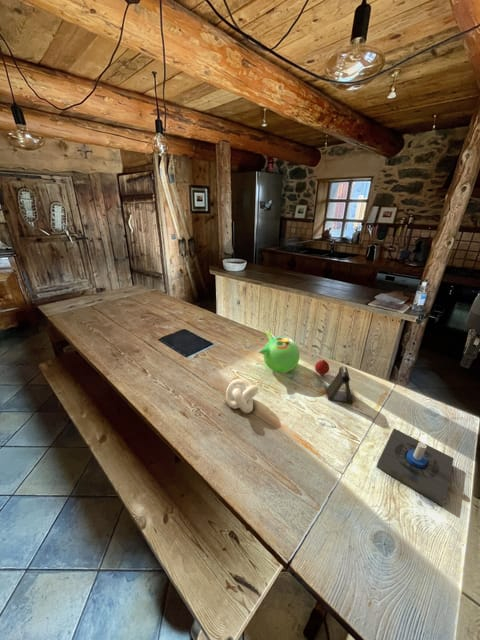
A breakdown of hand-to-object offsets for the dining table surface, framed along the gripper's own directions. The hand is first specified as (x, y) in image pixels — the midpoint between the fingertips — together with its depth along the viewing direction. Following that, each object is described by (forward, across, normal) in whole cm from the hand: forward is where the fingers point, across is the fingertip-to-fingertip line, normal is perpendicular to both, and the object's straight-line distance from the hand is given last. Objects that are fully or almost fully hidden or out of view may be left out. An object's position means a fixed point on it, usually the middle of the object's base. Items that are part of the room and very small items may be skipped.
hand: (465, 360), depth 81 cm
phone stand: (+26, -10, +31) cm, 42 cm away
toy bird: (+26, -10, +59) cm, 65 cm away
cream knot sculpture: (+26, -40, +56) cm, 73 cm away
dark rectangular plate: (+26, -24, +2) cm, 35 cm away
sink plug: (+26, -24, +2) cm, 35 cm away
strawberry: (+26, -2, +42) cm, 50 cm away
